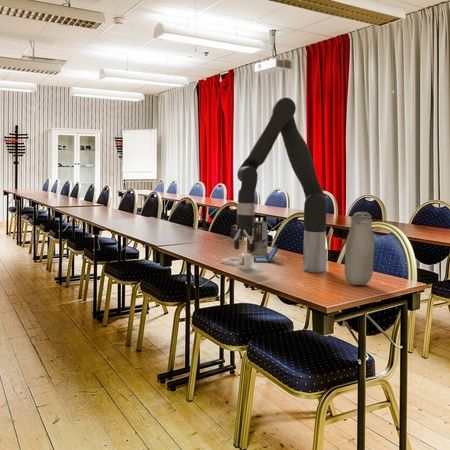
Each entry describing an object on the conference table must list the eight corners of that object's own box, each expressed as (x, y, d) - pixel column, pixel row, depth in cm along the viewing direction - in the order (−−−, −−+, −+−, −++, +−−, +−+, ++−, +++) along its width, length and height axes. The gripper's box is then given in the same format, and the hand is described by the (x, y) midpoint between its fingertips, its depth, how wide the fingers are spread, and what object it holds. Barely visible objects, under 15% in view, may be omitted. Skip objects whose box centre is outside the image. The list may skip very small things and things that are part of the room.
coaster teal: (254, 269, 210) (254, 267, 210) (245, 271, 206) (245, 270, 206) (243, 267, 214) (243, 265, 214) (234, 269, 210) (234, 267, 210)
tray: (248, 264, 221) (249, 260, 220) (235, 267, 214) (235, 262, 214) (234, 261, 227) (234, 257, 226) (220, 264, 220) (220, 259, 220)
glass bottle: (360, 289, 178) (364, 213, 175) (338, 284, 186) (342, 211, 183) (377, 286, 184) (381, 212, 181) (355, 280, 192) (359, 210, 189)
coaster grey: (264, 272, 204) (264, 271, 204) (255, 274, 200) (255, 273, 200) (253, 270, 208) (253, 269, 208) (244, 272, 204) (244, 271, 204)
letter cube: (251, 267, 210) (251, 254, 209) (245, 269, 207) (245, 255, 206) (244, 266, 213) (244, 252, 212) (237, 267, 210) (238, 253, 209)
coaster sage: (264, 267, 214) (264, 266, 214) (256, 269, 210) (256, 268, 209) (254, 265, 218) (254, 264, 218) (245, 267, 214) (245, 266, 213)
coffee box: (267, 252, 251) (268, 221, 249) (261, 254, 246) (262, 222, 244) (252, 250, 256) (253, 220, 254) (246, 252, 251) (247, 221, 249)
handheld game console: (253, 259, 234) (253, 244, 234) (275, 259, 234) (276, 244, 233) (253, 264, 222) (254, 248, 221) (277, 265, 222) (277, 248, 221)
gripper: (264, 214, 205) (262, 252, 207) (239, 211, 215) (237, 247, 217) (252, 215, 200) (251, 254, 202) (227, 212, 210) (226, 249, 212)
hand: (244, 250), depth 210 cm, fingers open, 8 cm apart
